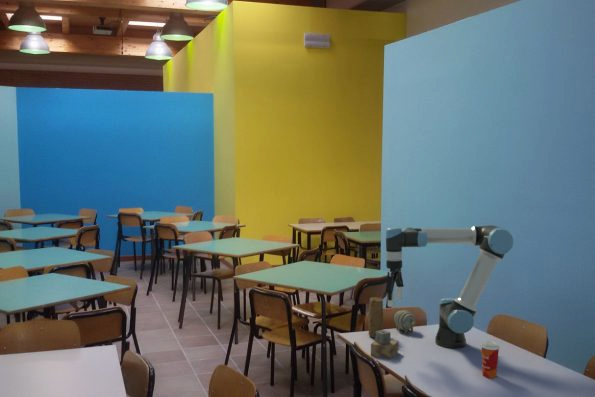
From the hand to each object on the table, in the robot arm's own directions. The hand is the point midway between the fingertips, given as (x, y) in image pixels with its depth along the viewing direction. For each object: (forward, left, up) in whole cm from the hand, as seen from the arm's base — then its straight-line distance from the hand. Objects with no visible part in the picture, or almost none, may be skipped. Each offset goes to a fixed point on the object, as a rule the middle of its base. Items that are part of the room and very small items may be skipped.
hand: (395, 303), depth 272 cm
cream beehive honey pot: (+6, -35, -24) cm, 42 cm away
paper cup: (-46, +10, -24) cm, 53 cm away
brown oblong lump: (+17, -20, -24) cm, 35 cm away
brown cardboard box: (+3, +6, -24) cm, 25 cm away
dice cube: (+4, +6, -18) cm, 20 cm away
